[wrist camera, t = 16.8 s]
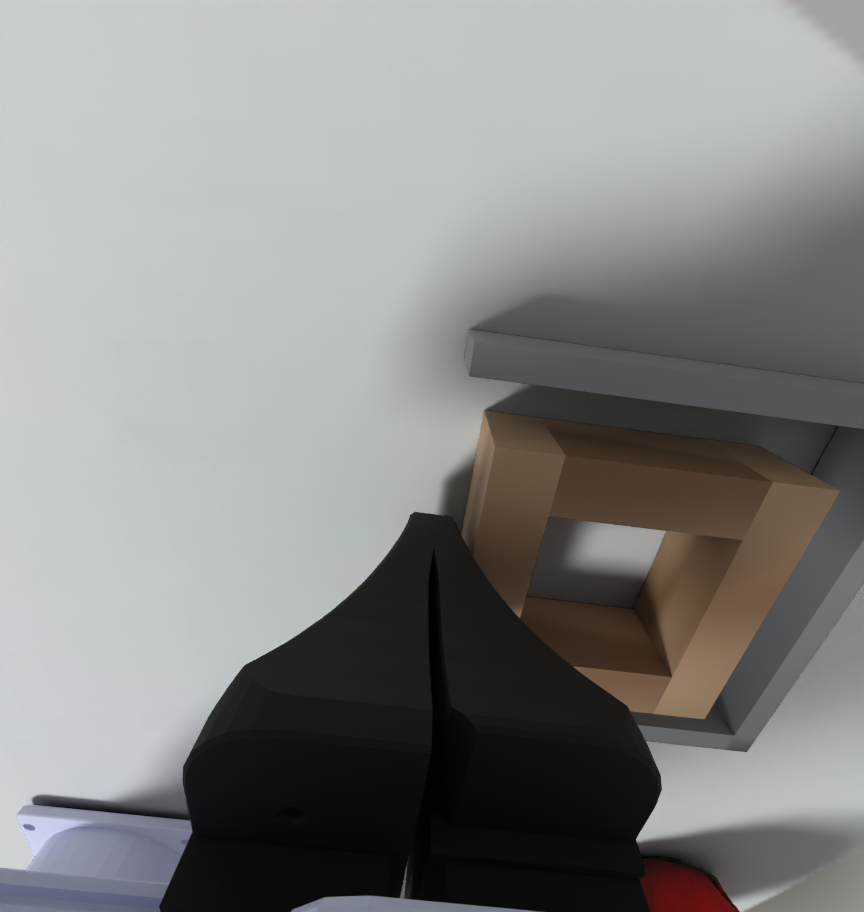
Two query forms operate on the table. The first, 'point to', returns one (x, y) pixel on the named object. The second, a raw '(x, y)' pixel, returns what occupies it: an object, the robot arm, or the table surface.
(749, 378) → the grey u-shaped bracket
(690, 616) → the wooden square frame
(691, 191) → the table surface
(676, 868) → the red clay folk toy
